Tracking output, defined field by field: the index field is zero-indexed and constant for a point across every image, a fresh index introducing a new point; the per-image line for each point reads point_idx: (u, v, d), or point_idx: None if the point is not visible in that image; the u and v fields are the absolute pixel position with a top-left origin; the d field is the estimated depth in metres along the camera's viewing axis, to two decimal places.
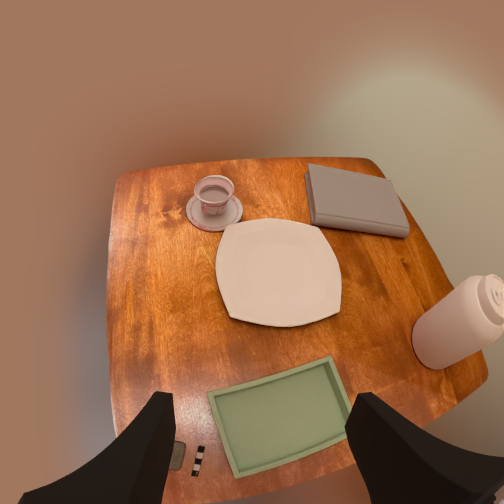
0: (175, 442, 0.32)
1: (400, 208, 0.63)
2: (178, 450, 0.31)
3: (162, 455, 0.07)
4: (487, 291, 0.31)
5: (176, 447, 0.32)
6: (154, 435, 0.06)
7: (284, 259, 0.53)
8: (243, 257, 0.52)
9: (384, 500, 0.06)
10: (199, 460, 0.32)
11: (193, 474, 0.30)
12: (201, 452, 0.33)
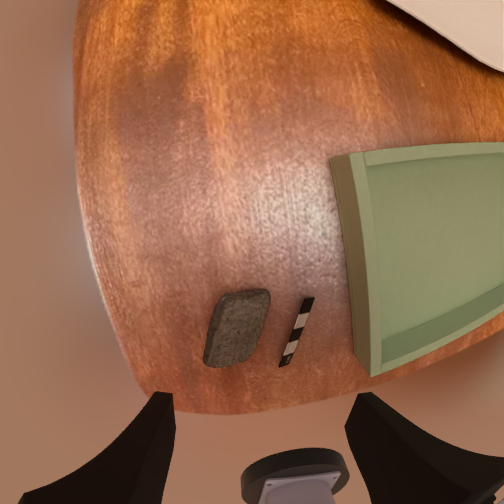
0: (251, 299, 0.15)
1: None
2: (256, 319, 0.16)
3: (162, 455, 0.07)
4: None
5: (253, 312, 0.16)
6: (154, 435, 0.06)
7: None
8: None
9: (384, 500, 0.06)
10: (299, 331, 0.18)
11: (282, 362, 0.18)
12: (306, 312, 0.17)
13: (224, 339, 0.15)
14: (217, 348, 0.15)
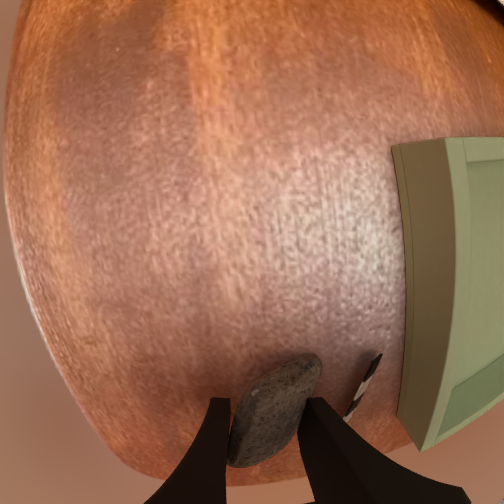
0: (298, 382, 0.09)
1: None
2: (303, 403, 0.09)
3: None
4: None
5: (300, 398, 0.09)
6: (227, 442, 0.07)
7: None
8: None
9: None
10: (359, 399, 0.11)
11: None
12: (371, 375, 0.10)
13: (257, 441, 0.08)
14: (247, 451, 0.08)
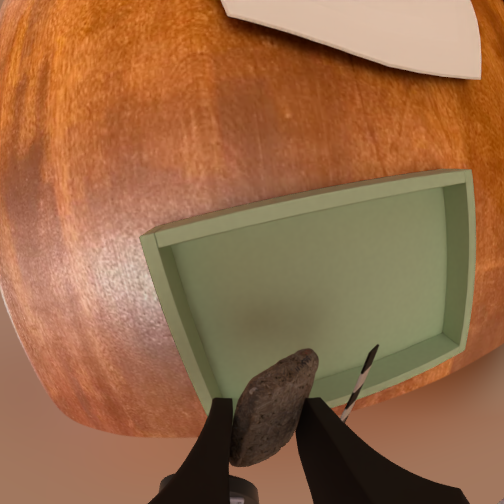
0: (295, 378, 0.09)
1: None
2: (302, 399, 0.09)
3: None
4: None
5: (299, 393, 0.09)
6: (230, 442, 0.07)
7: None
8: None
9: None
10: (358, 391, 0.11)
11: None
12: (369, 367, 0.11)
13: (259, 439, 0.08)
14: (249, 450, 0.08)
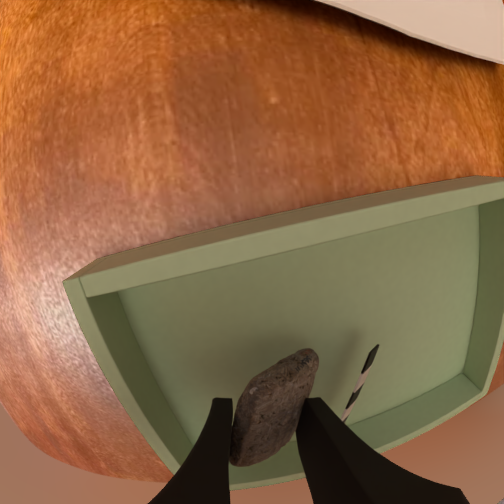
0: (296, 378, 0.09)
1: None
2: (302, 398, 0.09)
3: (228, 461, 0.07)
4: None
5: (299, 393, 0.09)
6: (229, 442, 0.07)
7: None
8: None
9: None
10: (358, 391, 0.11)
11: None
12: (369, 367, 0.11)
13: (259, 438, 0.08)
14: (250, 450, 0.08)
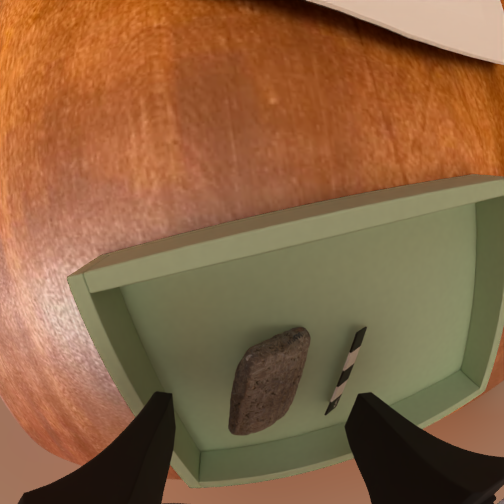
0: (287, 350, 0.10)
1: None
2: (294, 371, 0.11)
3: (162, 455, 0.07)
4: None
5: (291, 365, 0.10)
6: (154, 435, 0.06)
7: None
8: None
9: (384, 500, 0.06)
10: (349, 370, 0.12)
11: (329, 408, 0.13)
12: (358, 347, 0.12)
13: (255, 405, 0.10)
14: (246, 417, 0.10)
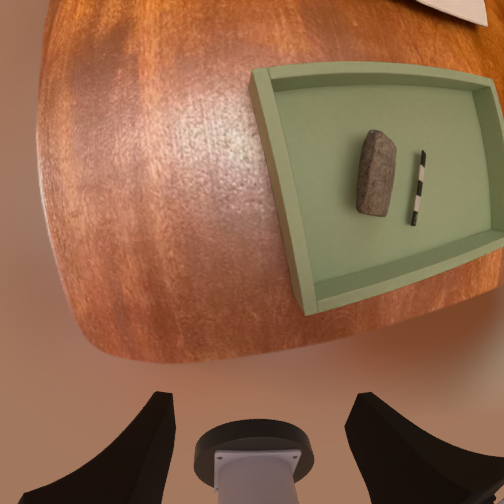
0: (389, 139, 0.14)
1: None
2: (393, 161, 0.15)
3: (162, 455, 0.07)
4: None
5: (392, 152, 0.14)
6: (154, 435, 0.06)
7: None
8: None
9: (384, 500, 0.06)
10: (421, 186, 0.16)
11: (412, 221, 0.17)
12: (423, 166, 0.16)
13: (377, 174, 0.14)
14: (372, 185, 0.14)
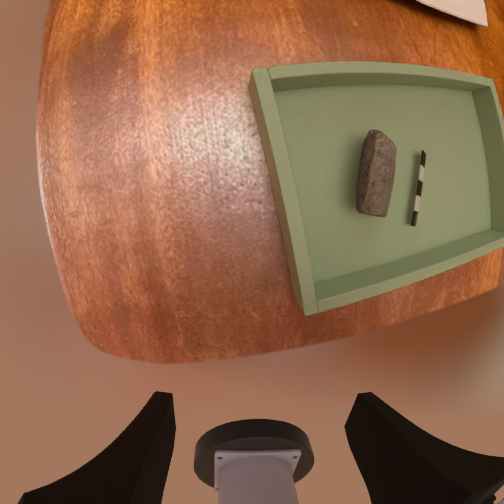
0: (389, 139, 0.14)
1: None
2: (393, 161, 0.15)
3: (162, 455, 0.07)
4: None
5: (392, 152, 0.14)
6: (154, 435, 0.06)
7: None
8: None
9: (384, 500, 0.06)
10: (421, 186, 0.16)
11: (412, 221, 0.17)
12: (423, 166, 0.16)
13: (377, 174, 0.14)
14: (372, 185, 0.14)
